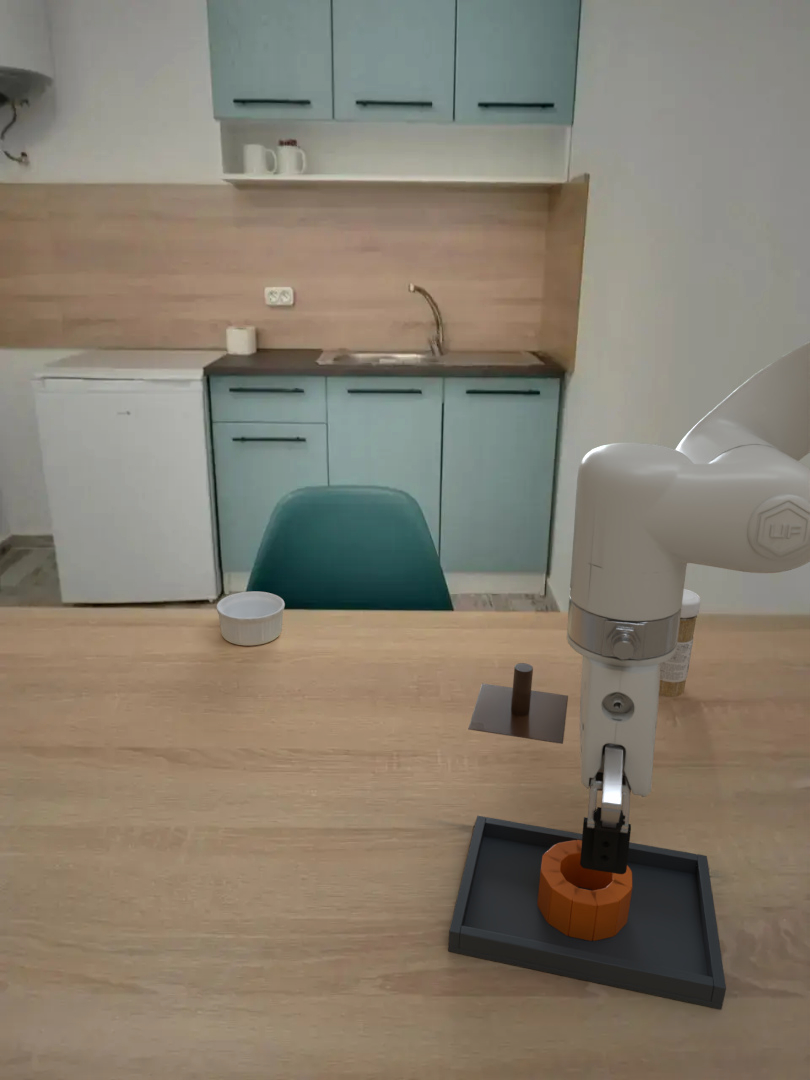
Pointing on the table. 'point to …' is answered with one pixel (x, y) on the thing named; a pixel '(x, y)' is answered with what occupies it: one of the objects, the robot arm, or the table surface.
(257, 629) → the ramekin
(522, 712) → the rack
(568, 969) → the tray
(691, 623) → the sprinkles bottle
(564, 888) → the orange octagonal ring
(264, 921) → the table surface
